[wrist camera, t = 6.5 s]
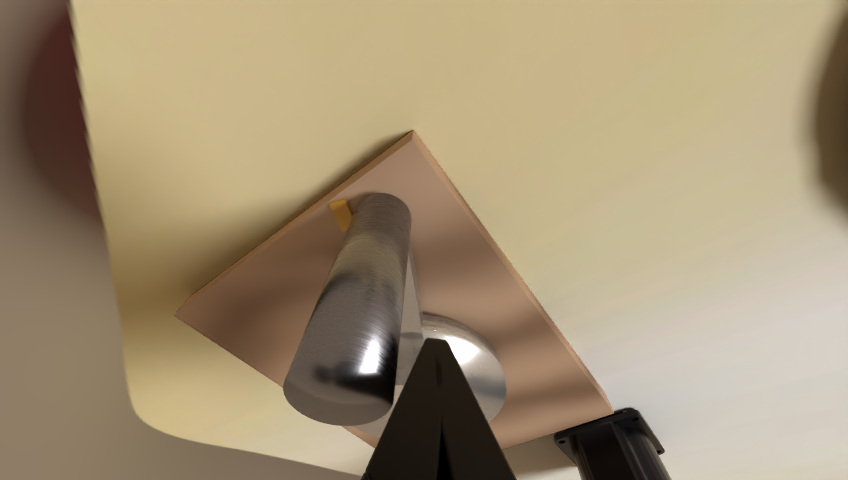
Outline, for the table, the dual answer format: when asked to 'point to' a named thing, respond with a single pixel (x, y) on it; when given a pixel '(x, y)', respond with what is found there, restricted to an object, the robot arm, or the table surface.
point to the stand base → (438, 287)
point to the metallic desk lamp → (378, 329)
